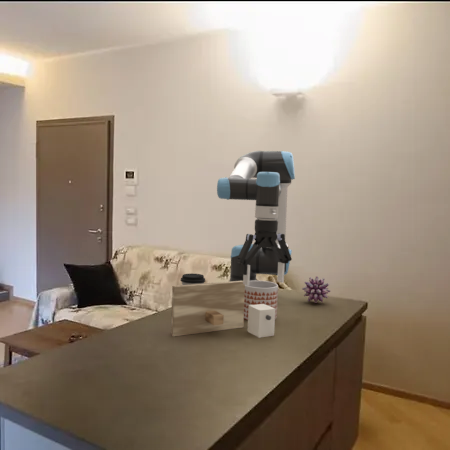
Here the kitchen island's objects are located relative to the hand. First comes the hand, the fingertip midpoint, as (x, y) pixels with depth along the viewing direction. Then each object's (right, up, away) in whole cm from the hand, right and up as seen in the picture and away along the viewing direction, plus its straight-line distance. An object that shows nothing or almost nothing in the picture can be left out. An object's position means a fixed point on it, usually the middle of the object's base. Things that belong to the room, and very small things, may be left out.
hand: (263, 283), depth 151 cm
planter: (0, -16, +21) cm, 26 cm away
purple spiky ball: (+26, -15, +45) cm, 55 cm away
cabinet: (-1, -17, +1) cm, 17 cm away
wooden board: (-17, -16, -1) cm, 24 cm away
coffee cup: (-25, -15, +21) cm, 36 cm away
